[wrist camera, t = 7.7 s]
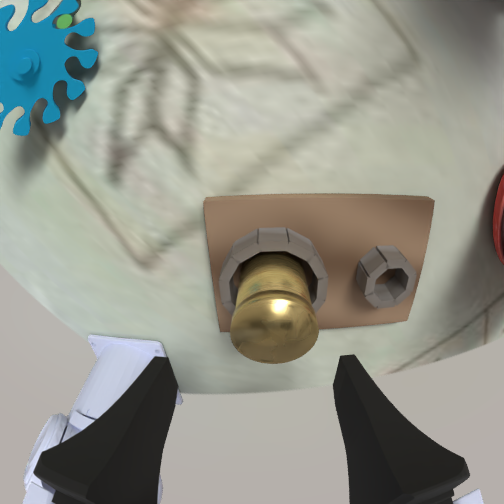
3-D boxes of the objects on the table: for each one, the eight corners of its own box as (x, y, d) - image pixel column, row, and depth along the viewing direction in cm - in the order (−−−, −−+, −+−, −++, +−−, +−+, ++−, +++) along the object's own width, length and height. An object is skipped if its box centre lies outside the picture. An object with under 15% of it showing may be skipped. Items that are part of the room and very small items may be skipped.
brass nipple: (305, 294, 19) (317, 359, 14) (244, 299, 20) (237, 365, 14) (303, 238, 17) (319, 295, 12) (235, 244, 18) (222, 303, 12)
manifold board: (402, 313, 21) (416, 336, 18) (221, 323, 22) (216, 350, 19) (427, 196, 17) (450, 210, 14) (206, 197, 18) (195, 212, 15)
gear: (45, 159, 15) (-65, 116, 6) (45, 130, 18) (-41, 94, 9) (143, 22, 12) (34, -46, 4) (123, 22, 15) (39, -30, 7)
